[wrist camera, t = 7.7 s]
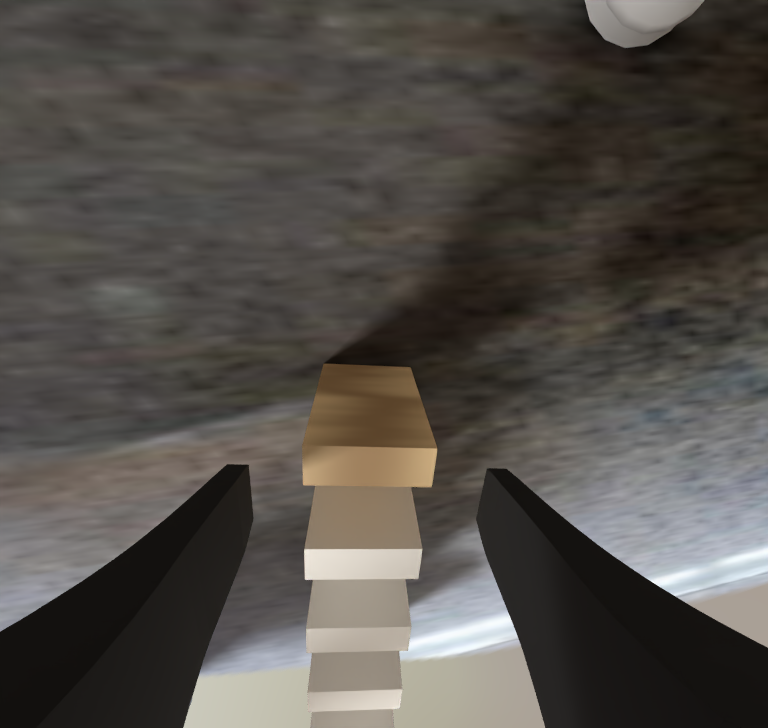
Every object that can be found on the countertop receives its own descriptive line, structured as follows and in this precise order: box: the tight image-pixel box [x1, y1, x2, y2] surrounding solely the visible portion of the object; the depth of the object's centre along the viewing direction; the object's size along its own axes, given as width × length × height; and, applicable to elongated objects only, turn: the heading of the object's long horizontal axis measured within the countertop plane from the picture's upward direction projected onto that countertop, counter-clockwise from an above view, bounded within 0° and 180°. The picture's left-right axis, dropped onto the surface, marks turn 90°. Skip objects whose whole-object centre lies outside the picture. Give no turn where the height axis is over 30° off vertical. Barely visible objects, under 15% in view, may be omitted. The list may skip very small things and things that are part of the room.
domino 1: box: [304, 485, 422, 580], centre depth 17 cm, size 4×2×7 cm, turn 86°
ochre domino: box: [302, 364, 437, 487], centre depth 15 cm, size 4×2×7 cm, turn 86°
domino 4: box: [310, 709, 394, 728], centre depth 22 cm, size 4×2×7 cm, turn 86°
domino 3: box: [308, 651, 402, 712], centre depth 20 cm, size 4×2×7 cm, turn 86°
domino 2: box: [306, 579, 411, 653], centre depth 18 cm, size 4×2×7 cm, turn 86°
